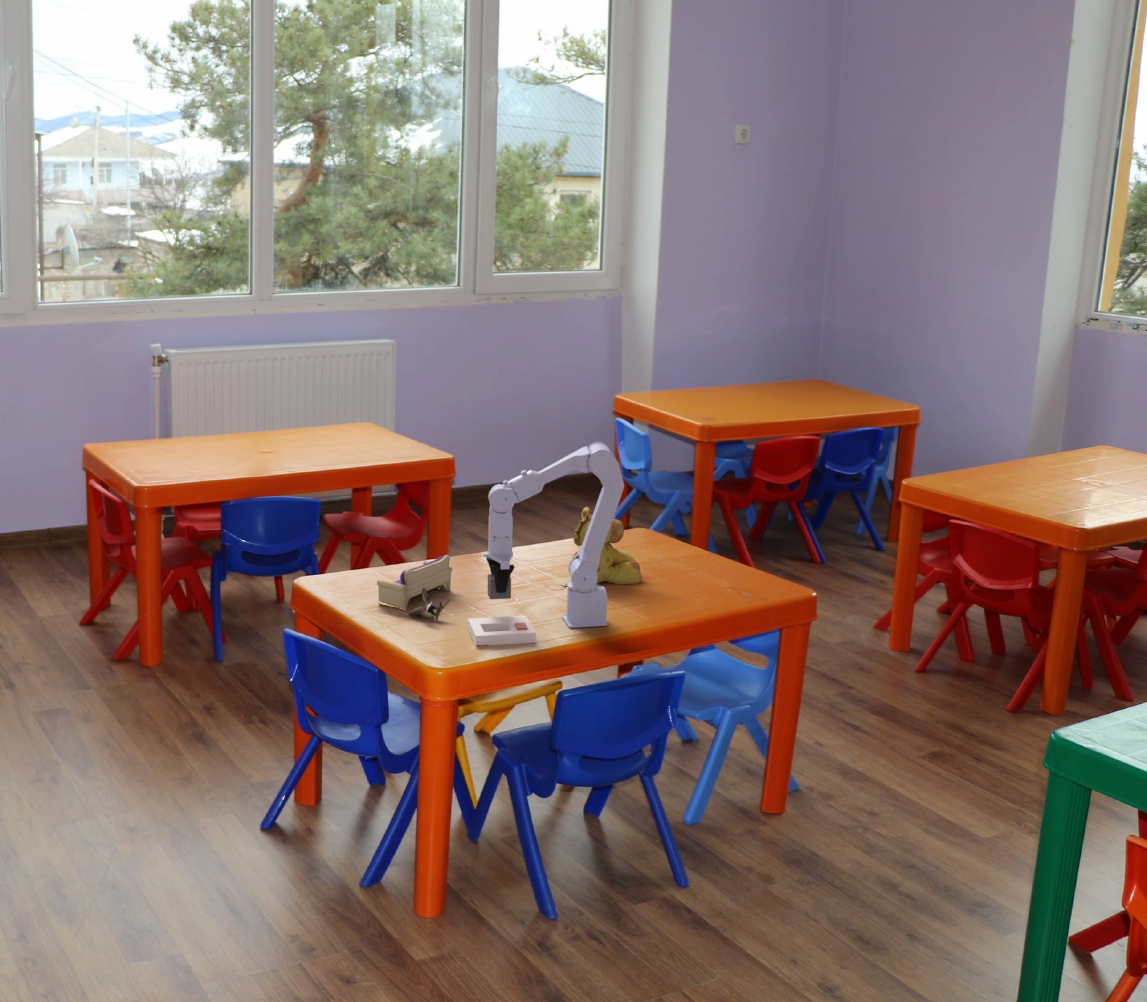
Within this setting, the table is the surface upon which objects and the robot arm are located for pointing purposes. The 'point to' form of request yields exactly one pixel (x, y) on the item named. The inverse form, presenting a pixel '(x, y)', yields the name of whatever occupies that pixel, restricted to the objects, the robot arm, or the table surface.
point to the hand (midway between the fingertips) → (499, 589)
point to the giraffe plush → (610, 554)
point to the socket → (501, 630)
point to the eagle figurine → (429, 606)
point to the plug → (492, 589)
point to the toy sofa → (416, 582)
